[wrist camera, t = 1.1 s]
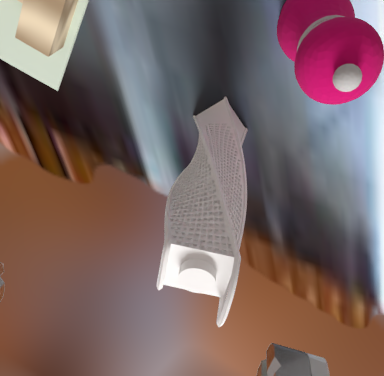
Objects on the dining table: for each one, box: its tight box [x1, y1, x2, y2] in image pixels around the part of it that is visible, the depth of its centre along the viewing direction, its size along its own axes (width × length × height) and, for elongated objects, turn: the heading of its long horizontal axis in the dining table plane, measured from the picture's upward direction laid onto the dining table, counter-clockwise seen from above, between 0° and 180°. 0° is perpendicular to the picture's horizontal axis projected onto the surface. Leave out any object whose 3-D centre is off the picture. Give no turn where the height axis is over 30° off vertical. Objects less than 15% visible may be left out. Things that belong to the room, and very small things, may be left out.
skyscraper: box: [157, 96, 248, 327], centre depth 36 cm, size 8×7×28 cm
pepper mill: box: [277, 0, 384, 104], centre depth 30 cm, size 7×7×20 cm
